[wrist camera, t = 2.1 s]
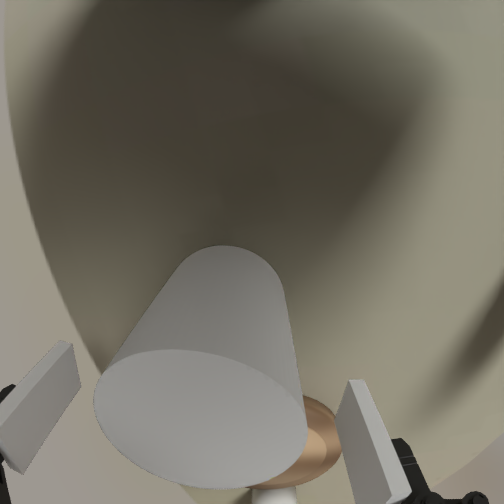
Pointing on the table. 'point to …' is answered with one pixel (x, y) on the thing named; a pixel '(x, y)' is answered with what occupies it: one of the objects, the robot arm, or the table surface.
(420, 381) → the table surface
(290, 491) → the white knobbed rounded part
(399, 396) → the table surface
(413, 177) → the table surface
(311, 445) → the brown wooden plate
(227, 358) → the white cylindrical piece
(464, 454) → the table surface
